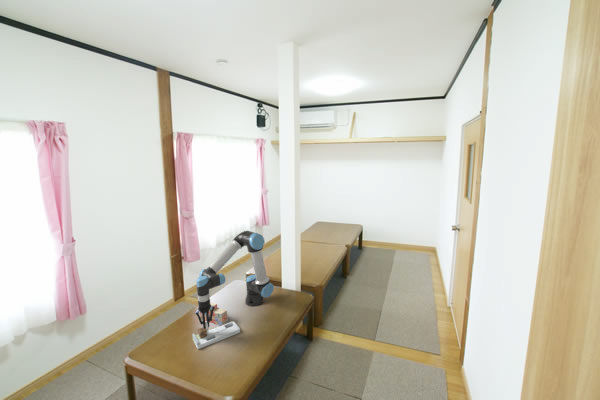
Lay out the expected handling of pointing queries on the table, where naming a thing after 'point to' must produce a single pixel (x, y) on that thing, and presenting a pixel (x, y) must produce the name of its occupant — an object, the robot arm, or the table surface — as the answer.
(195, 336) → the box
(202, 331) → the walnut block
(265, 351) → the table surface
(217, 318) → the stack of blocks
